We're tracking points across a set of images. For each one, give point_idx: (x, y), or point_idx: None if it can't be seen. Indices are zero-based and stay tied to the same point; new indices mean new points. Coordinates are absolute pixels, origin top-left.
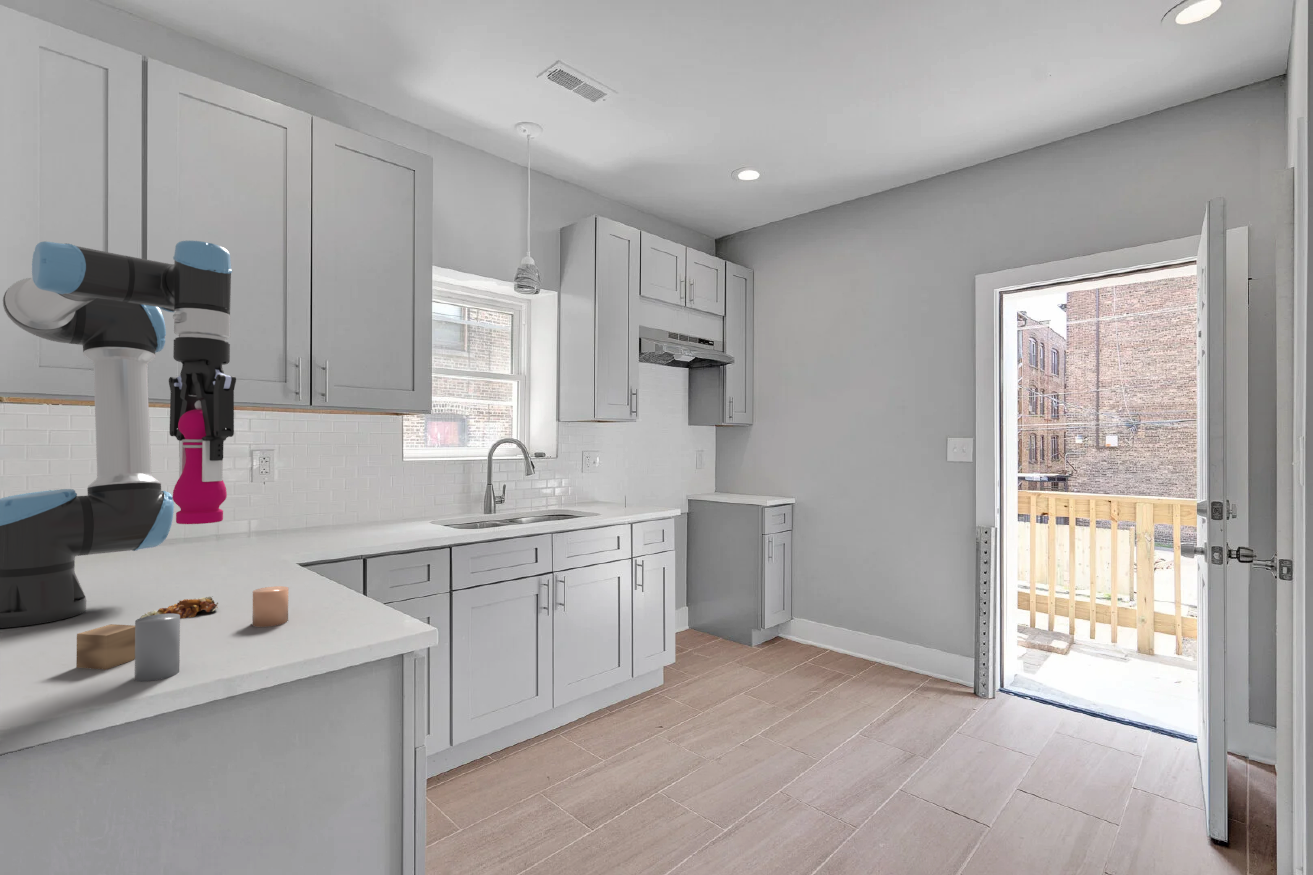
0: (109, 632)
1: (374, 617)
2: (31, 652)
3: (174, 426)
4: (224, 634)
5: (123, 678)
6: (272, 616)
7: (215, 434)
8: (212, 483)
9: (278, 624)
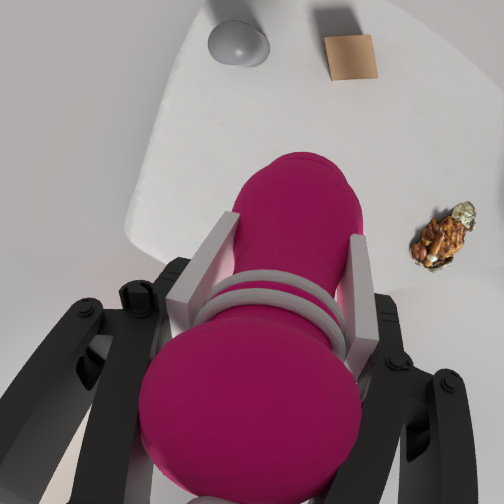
0: (335, 47)
1: None
2: (469, 78)
3: (435, 412)
4: None
5: (273, 29)
6: None
7: (91, 304)
8: None
9: None
